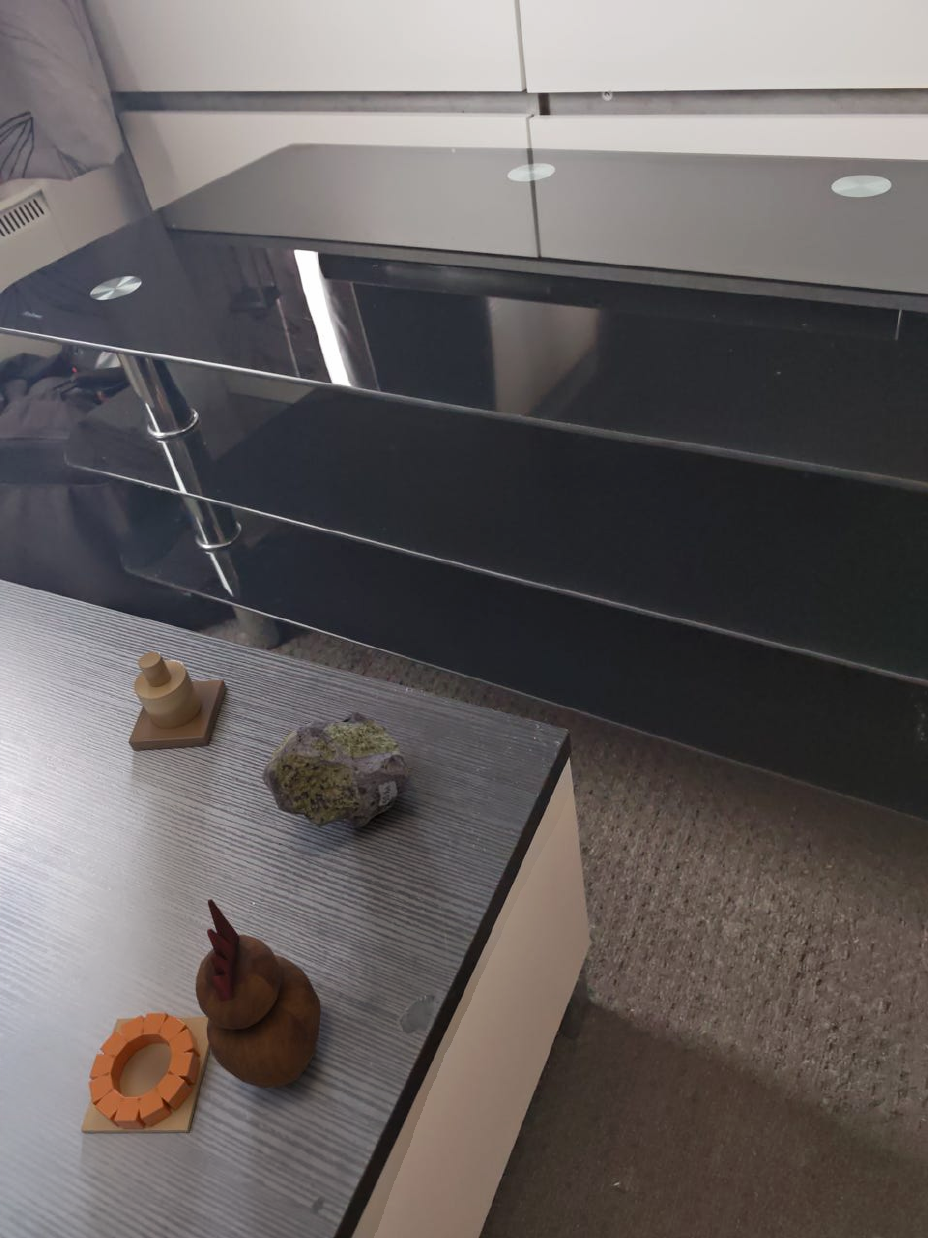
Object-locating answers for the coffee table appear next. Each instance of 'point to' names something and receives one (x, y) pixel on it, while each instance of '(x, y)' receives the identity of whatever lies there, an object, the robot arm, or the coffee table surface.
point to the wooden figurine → (256, 1008)
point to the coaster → (154, 1082)
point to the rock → (337, 771)
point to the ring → (167, 1091)
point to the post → (173, 705)
